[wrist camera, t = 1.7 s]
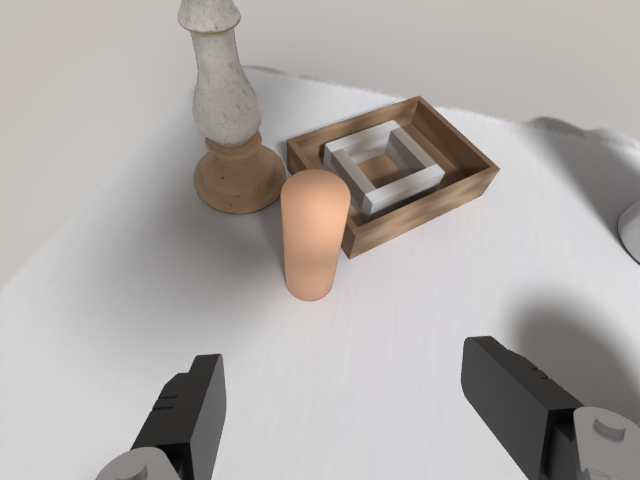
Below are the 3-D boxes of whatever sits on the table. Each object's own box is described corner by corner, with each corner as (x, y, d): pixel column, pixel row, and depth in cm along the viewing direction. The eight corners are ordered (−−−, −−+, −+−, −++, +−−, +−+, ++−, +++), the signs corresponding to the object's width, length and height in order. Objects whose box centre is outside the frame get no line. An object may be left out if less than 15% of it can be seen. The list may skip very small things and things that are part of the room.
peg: (318, 251, 30) (328, 161, 21) (342, 288, 29) (363, 207, 19) (277, 270, 29) (268, 183, 20) (299, 309, 28) (301, 234, 18)
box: (409, 124, 40) (419, 95, 37) (481, 195, 35) (500, 168, 32) (287, 169, 35) (286, 140, 32) (349, 259, 30) (355, 235, 27)
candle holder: (260, 138, 38) (229, -129, 21) (302, 192, 34) (308, -79, 17) (182, 167, 35) (71, -114, 18) (219, 230, 31) (124, -51, 14)
